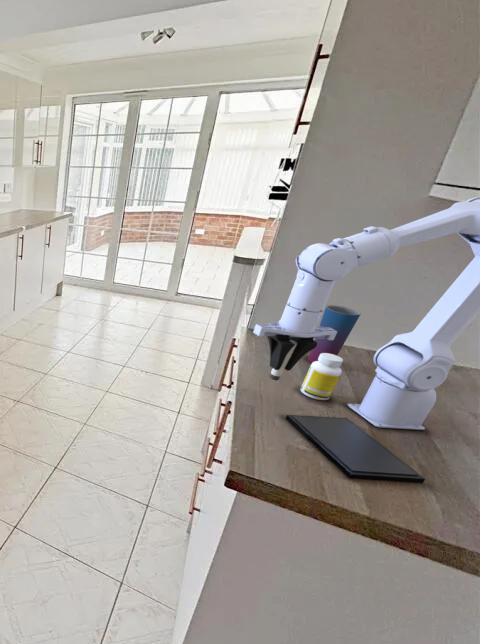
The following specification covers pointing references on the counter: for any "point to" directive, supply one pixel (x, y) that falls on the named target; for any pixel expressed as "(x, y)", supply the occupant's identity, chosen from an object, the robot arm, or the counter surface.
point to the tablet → (353, 449)
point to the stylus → (277, 373)
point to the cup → (340, 322)
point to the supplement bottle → (322, 377)
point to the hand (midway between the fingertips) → (279, 367)
